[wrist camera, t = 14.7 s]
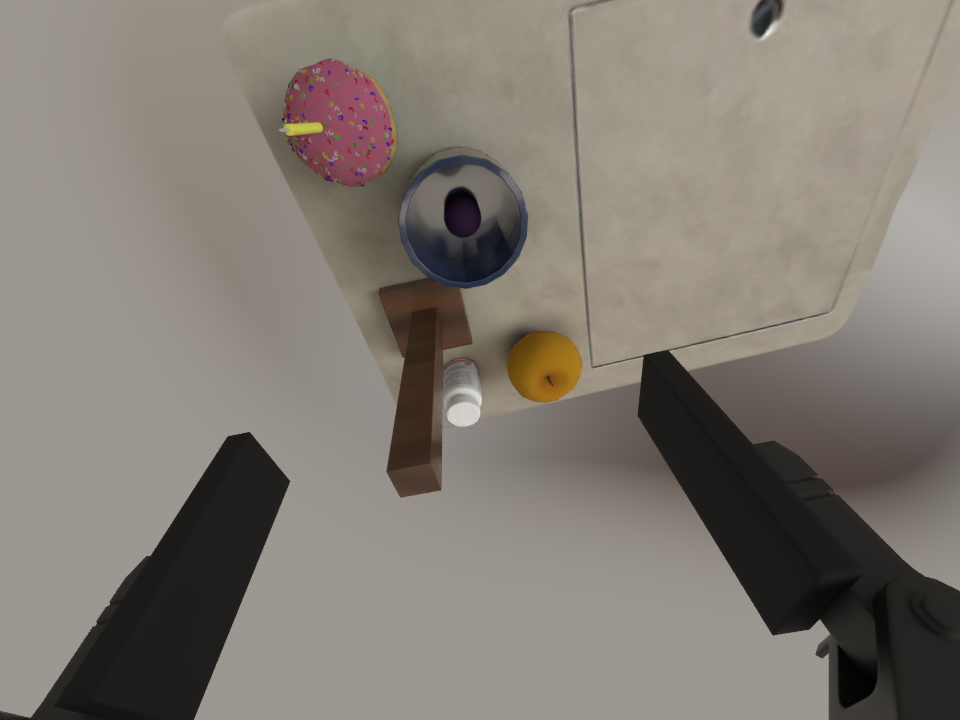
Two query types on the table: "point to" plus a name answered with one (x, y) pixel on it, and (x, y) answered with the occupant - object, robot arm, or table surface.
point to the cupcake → (339, 123)
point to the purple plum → (462, 215)
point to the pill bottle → (462, 392)
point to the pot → (488, 245)
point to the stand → (421, 377)
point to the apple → (544, 366)
